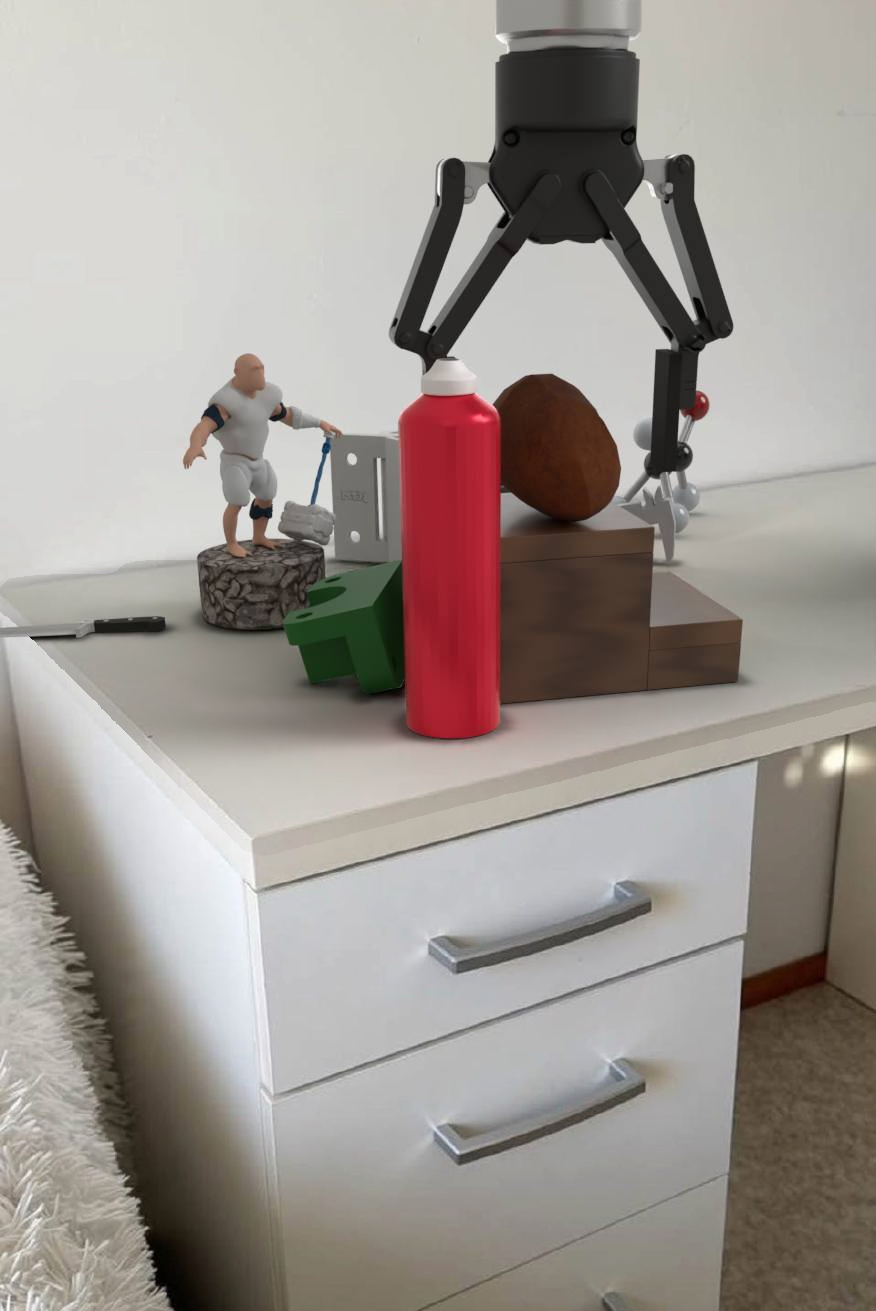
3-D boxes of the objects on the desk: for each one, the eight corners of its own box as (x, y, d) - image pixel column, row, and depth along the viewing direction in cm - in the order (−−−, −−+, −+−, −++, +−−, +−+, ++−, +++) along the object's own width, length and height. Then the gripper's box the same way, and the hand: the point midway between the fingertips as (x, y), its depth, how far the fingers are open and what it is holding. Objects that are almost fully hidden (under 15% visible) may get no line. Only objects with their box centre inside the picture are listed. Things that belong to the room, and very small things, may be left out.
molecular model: (594, 527, 125) (598, 402, 121) (652, 502, 134) (658, 385, 130) (680, 538, 121) (687, 409, 117) (734, 511, 130) (743, 391, 126)
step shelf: (667, 627, 98) (675, 481, 94) (738, 681, 88) (751, 520, 84) (443, 646, 95) (441, 496, 91) (488, 705, 85) (489, 538, 80)
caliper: (673, 562, 115) (678, 484, 112) (672, 565, 114) (677, 486, 111) (430, 552, 119) (428, 476, 117) (426, 555, 118) (425, 479, 116)
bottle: (457, 699, 86) (453, 350, 77) (519, 722, 82) (522, 358, 73) (387, 721, 82) (374, 359, 74) (448, 746, 79) (443, 368, 70)
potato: (537, 548, 81) (518, 408, 77) (463, 502, 91) (443, 375, 86) (655, 513, 83) (643, 375, 79) (570, 471, 92) (555, 346, 88)
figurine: (232, 648, 95) (209, 368, 88) (148, 626, 100) (119, 359, 93) (376, 601, 106) (367, 346, 98) (293, 583, 111) (278, 339, 103)
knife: (-53, 636, 97) (-47, 627, 99) (-51, 646, 98) (-45, 637, 100) (163, 623, 99) (165, 614, 100) (164, 632, 99) (166, 624, 101)
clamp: (349, 714, 96) (325, 582, 96) (434, 696, 95) (409, 562, 95) (291, 704, 84) (263, 554, 84) (386, 683, 83) (358, 531, 83)
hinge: (331, 558, 117) (326, 432, 113) (378, 547, 120) (374, 424, 116) (453, 586, 108) (452, 451, 104) (500, 573, 112) (501, 442, 107)
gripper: (764, 52, 78) (734, 452, 88) (328, 55, 75) (346, 469, 84) (817, 40, 72) (779, 474, 81) (342, 43, 68) (359, 494, 78)
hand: (558, 472), depth 83 cm, fingers open, 12 cm apart
